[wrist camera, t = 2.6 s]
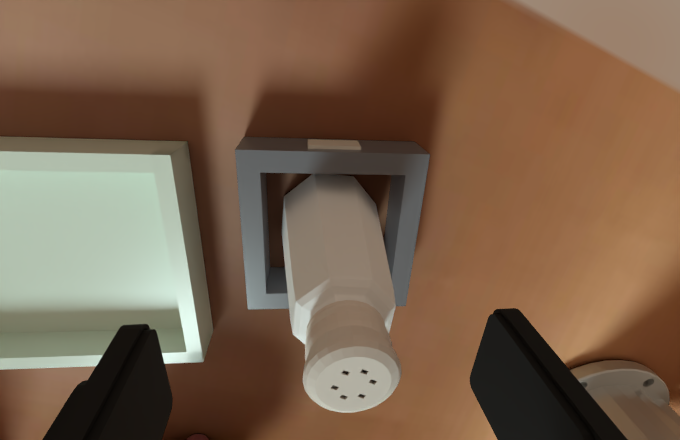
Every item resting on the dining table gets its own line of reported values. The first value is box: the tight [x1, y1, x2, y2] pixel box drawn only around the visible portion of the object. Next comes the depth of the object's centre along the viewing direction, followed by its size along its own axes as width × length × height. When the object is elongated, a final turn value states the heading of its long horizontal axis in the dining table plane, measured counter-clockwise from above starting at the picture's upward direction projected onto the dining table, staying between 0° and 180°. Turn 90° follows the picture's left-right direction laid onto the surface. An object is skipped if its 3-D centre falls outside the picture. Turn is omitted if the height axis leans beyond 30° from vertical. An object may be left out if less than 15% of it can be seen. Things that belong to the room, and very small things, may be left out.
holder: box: [235, 137, 430, 309], centre depth 18 cm, size 9×9×2 cm
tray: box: [0, 136, 213, 370], centre depth 18 cm, size 14×12×2 cm
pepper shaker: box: [282, 174, 401, 412], centre depth 15 cm, size 5×5×11 cm
